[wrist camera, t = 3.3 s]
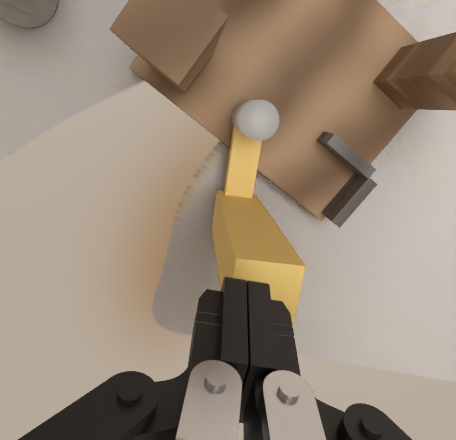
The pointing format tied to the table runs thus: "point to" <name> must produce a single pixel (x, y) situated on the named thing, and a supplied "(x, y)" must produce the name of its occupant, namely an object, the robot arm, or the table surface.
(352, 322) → the table surface
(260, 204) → the hinged leg
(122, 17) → the wooden pillar stand
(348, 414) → the robot arm
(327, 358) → the table surface
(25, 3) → the grey tube
